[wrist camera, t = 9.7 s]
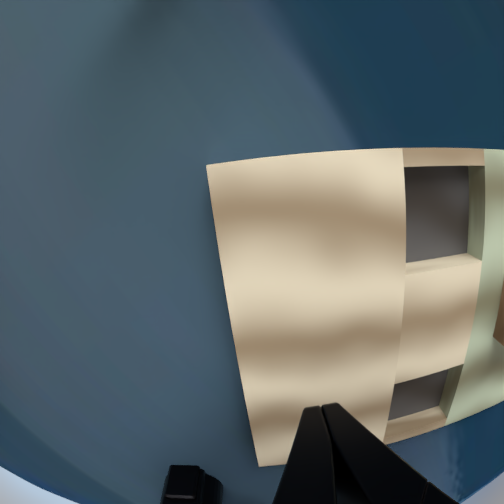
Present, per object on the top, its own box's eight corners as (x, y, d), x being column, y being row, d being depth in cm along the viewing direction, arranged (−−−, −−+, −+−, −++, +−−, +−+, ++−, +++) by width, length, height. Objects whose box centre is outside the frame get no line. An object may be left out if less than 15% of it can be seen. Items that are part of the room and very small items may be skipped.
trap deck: (511, 380, 23) (521, 391, 21) (258, 448, 23) (259, 466, 21) (546, 153, 16) (563, 155, 14) (210, 164, 17) (206, 165, 15)
